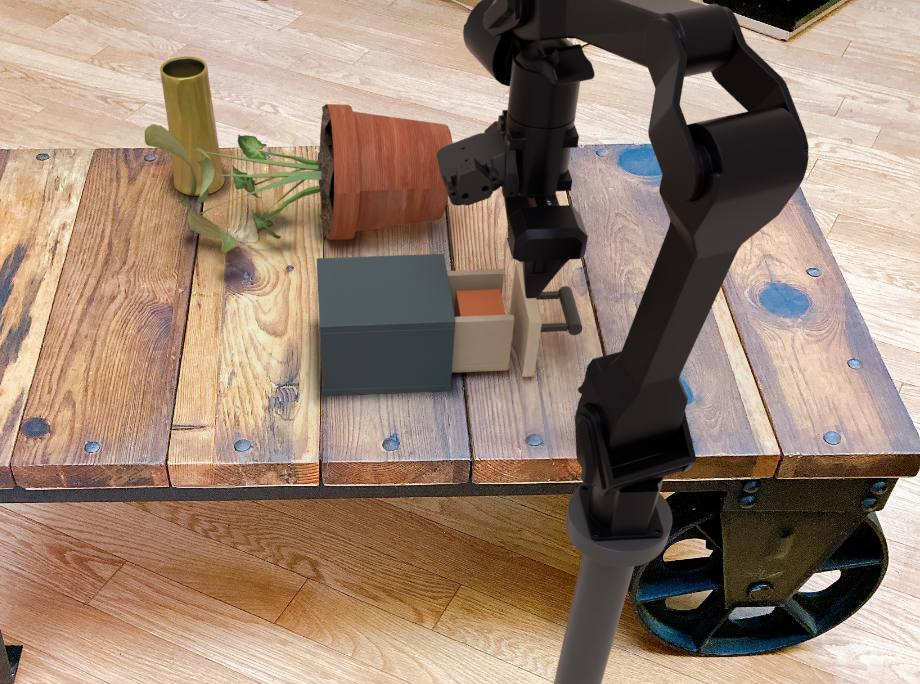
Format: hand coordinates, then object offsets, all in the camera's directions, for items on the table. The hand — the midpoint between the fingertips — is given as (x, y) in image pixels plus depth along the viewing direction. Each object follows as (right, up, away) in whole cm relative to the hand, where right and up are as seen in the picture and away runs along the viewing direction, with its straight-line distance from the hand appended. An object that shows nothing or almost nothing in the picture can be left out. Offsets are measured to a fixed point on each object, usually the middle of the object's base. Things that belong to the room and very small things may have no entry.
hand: (523, 267), depth 105 cm
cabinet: (-13, -7, +7) cm, 17 cm away
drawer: (-2, -6, +7) cm, 10 cm away
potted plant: (-23, +9, +22) cm, 33 cm away
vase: (-35, +17, +28) cm, 48 cm away
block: (-4, -6, +6) cm, 9 cm away
